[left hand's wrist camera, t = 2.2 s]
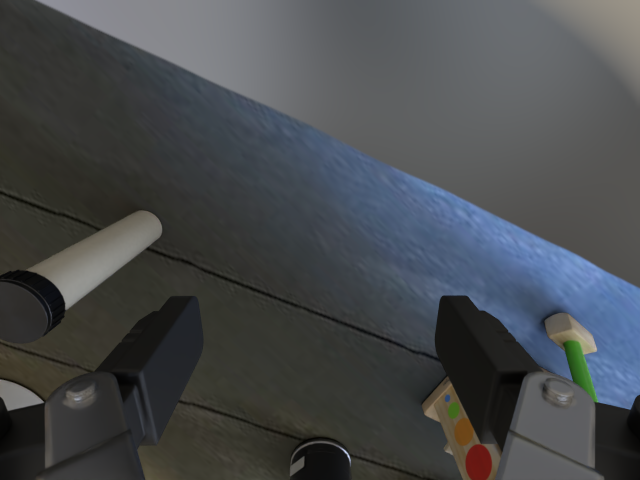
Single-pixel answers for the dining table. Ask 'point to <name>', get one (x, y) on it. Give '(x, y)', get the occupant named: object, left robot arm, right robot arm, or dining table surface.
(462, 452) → the pounding bench toy
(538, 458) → the left robot arm
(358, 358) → the dining table surface
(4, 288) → the lid
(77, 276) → the white cylindrical bottle
